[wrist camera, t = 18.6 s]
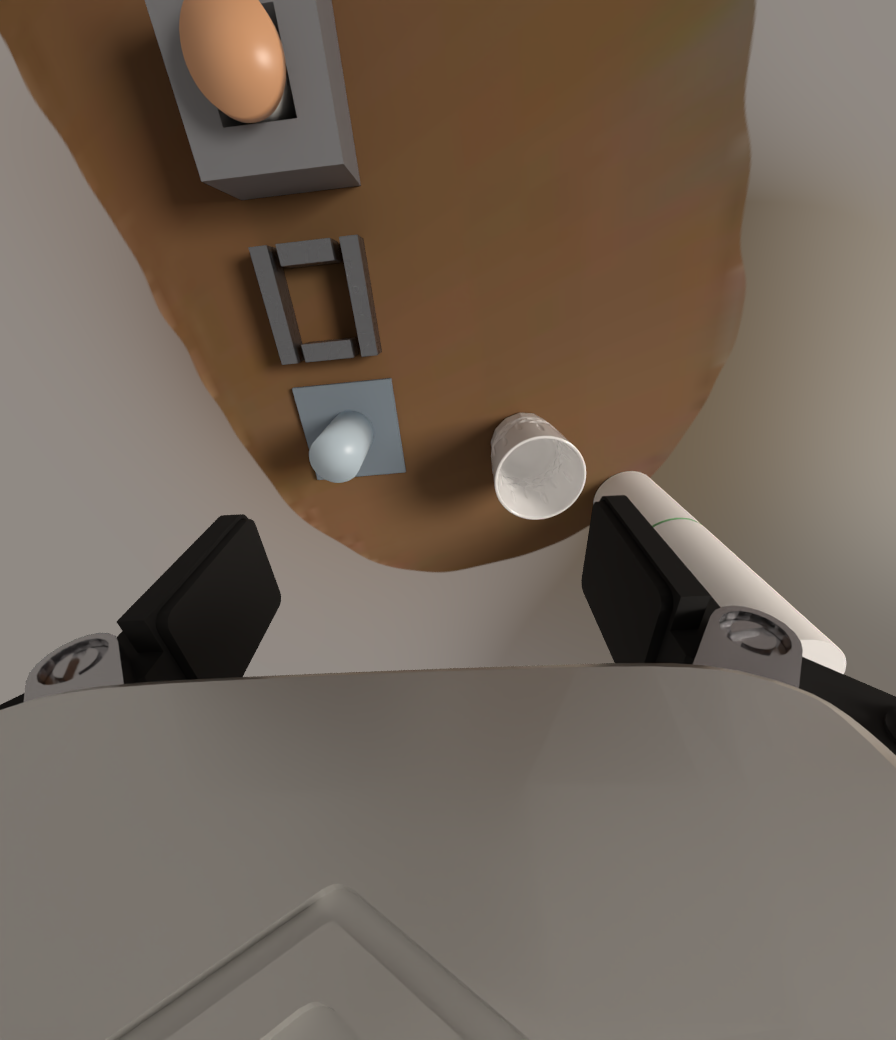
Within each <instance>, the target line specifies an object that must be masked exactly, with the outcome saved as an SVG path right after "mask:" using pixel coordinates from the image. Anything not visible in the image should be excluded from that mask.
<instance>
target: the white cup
mask: <svg viewBox="0 0 896 1040" xmlns="http://www.w3.org/2000/svg"><path fill="white" fill-rule="evenodd" d="M491 449H492V451H491V460H492V471H493V477H494V485H495V491H496V494H497V497H498V499H499V501H500V502H501V504H502V505H503V506H504V507H505V508H506V509H507V510H508V511H509V512H511V513H512V514H514V515H516V516H518V517H521V518H525V519H533V520H537V519H545V518H549V517H552V516H555V515H557V514H559V513H561V512H563V511H564V510H566V509H567V508H569V507H570V506H571V505H572V504H573V503H574V502H575V501H576V499H577V498H578V497H579V495H580V493H581V492H582V489H583V487H584V484H585V480H586V466H585V462H584V459H583V457H582V455H581V454H580V452H579V451H578V449H577V448H576V447H575V446H574V445H573V444H571V443H570V442H569V441H568V440H567V439H566V438H565V437H564V436H563V435H562V434H561V433H560V432H559V431H558V430H557V429H555V428H554V427H553V426H552V425H551V424H549V423H548V422H547V421H546V420H544V419H542V418H541V417H539V416H537V415H535V414H534V413H517V414H515V415H512V416H510V417H507V418H505V419H504V420H503V421H502V422H501V423H500V424H499V425H498V427H497V428H496V429H495V431H494V434H493V437H492V440H491Z"/></svg>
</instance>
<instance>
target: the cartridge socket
mask: <svg viewBox="0 0 896 1040" xmlns="http://www.w3.org/2000/svg"><path fill="white" fill-rule="evenodd" d="M339 239H340V245H341V250H342V255H343V260H344V266H345V271H346V276H347V282H348V287H349V292H350V297H351V303H352V308H353V313H354V319H355V324H356V329H357V335H358V340H359V345H360V350H361V356H362V357H363V356H373V355H378V354H380V353H381V352H382V350H381V343H380V337H379V331H378V325H377V319H376V313H375V307H374V301H373V295H372V289H371V283H370V277H369V270H368V264H367V258H366V252H365V246H364V240H363V238H361V237H360V236H359V235H351V236H342V237H339ZM275 245H276V248H274V247H270V246H267V245H265V246H257V247H248V248H249V251H250V255H251V258H252V262H253V265H254V269H255V272H256V276H257V279H258V283H259V286H260V290H261V293H262V297H263V300H264V304H265V307H266V311H267V314H268V318H269V321H270V325H271V328H272V332H273V335H274V339H275V342H276V346H277V349H278V353H279V356H280V360H281V363H282V365H285V364H295V363H299V362H302V361H304V360H305V362H314V361H324V360H334V359H344V358H354V357H355V356H357V355H358V354H359V351H358V346H357V341H356V337H353V338H343V339H334V340H324V341H314V342H308V343H305V344H302V341H301V337H300V333H299V329H298V325H297V321H296V317H295V313H294V309H293V305H292V301H291V297H290V294H289V290H288V286H287V282H286V278H285V274H284V270H283V267H288V268H297V267H306V266H315V265H324V264H332V263H341V257H340V252H339V247H338V242H337V241H335V240H333V239H331V238H325V239H317V240H308V241H299V242H291V243H282V244H275Z"/></svg>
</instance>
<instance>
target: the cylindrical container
mask: <svg viewBox="0 0 896 1040" xmlns="http://www.w3.org/2000/svg"><path fill="white" fill-rule="evenodd" d="M614 495H625V496H627V497H628V498H629V500H630V501H631V502H632V503H633V504H634V506H635V507H636V508H637V509H638V510H639V511H640V513H641V514H642V515H643V516H644V517H645V518H646V520H647V521H648V522H649V523H650V524H651V525H652V527H653V528H654V529H655V530H656V531H657V533H658V534H659V535H660V536H661V537H662V538H663V540H664V541H665V542H666V543H667V544H668V545H669V547H670V548H671V549H672V550H673V551H674V552H675V554H676V555H677V556H678V557H679V558H680V560H681V561H682V562H683V563H684V564H685V565H686V567H687V568H688V569H689V570H690V571H691V572H692V574H693V575H694V576H695V577H696V578H697V580H698V581H699V582H700V583H701V584H702V585H703V587H704V588H705V589H706V590H707V591H708V592H709V594H710V595H711V596H712V598H713V599H714V600H715V601H716V602H717V604H718V605H719V606H720V607H724V606H743V607H748V608H752V609H756V610H759V611H762V612H764V613H766V614H769V615H771V616H773V617H775V618H776V619H778V620H780V621H781V622H783V623H784V624H786V625H787V626H788V627H789V628H790V629H791V630H792V631H794V632H795V634H796V635H797V637H798V638H799V640H800V641H801V644H802V649H803V653H802V657H804V658H807V659H809V660H811V661H814V662H816V663H818V664H821V665H823V666H825V667H828V668H830V669H832V670H835V671H837V672H839V673H842V674H844V672H845V668H846V658H845V655H844V654H843V652H842V651H841V650H840V648H838V647H837V646H836V645H835V644H834V643H833V642H831V640H829V639H828V638H827V637H826V636H825V635H824V634H823V633H822V632H821V631H819V630H818V629H817V628H816V627H815V626H814V625H813V624H812V623H811V622H809V621H808V620H807V619H806V618H805V617H804V616H803V615H802V614H801V613H799V612H798V611H797V610H796V609H795V608H794V607H793V606H792V605H791V604H789V603H788V602H787V601H786V600H785V599H784V598H783V597H782V596H780V595H779V594H778V593H777V592H776V591H775V590H774V589H773V588H772V587H770V586H769V585H768V584H767V583H766V582H765V581H764V580H763V579H761V578H760V577H759V576H758V575H757V574H756V573H755V572H754V571H753V570H751V569H750V568H749V567H748V566H747V565H746V564H745V563H744V562H743V561H742V560H740V559H739V558H738V557H737V556H736V555H735V554H734V553H733V552H731V551H730V550H729V549H728V548H727V547H726V546H725V545H724V544H723V543H722V542H720V541H719V540H718V539H717V538H716V537H715V536H714V535H713V534H712V533H710V532H709V531H708V530H707V529H706V528H705V527H704V526H702V525H701V524H700V523H699V522H698V521H697V520H696V519H694V517H693V516H691V515H690V514H689V513H688V512H687V511H686V510H685V509H684V508H682V507H681V506H680V505H679V504H678V503H677V502H676V501H675V500H674V499H673V498H671V497H670V496H669V495H668V494H667V493H666V492H665V491H664V490H663V489H661V488H660V487H659V486H658V485H657V484H656V483H655V482H654V481H652V480H651V479H650V478H649V477H648V476H646V475H645V474H643V473H640V472H636V471H627V472H621V473H618V474H616V475H614V476H612V477H610V478H609V479H607V480H606V481H605V482H604V483H603V484H602V485H601V486H600V487H599V489H598V490H597V492H596V494H595V497H594V501H593V504H594V503H595V502H599V501H600V499H601V497H602V496H614Z"/></svg>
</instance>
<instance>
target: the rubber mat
mask: <svg viewBox="0 0 896 1040" xmlns="http://www.w3.org/2000/svg"><path fill="white" fill-rule="evenodd" d="M292 390H293V394H294V398H295V401H296V405H297V408H298V412H299V415H300V419H301V422H302V426H303V430H304V433H305V437H306V440H307V444H308V447H309V451H310V448H311V445H312V444H313V442H314V441H315V440H316V439H317V438H318V437H319V435H320V434H321V433H322V432H323V431H324V430H325V428H326V427H327V426H328V425H329V424H330V423H331V421H332V420H333V419H334V418H335V417H336V416H337V415H338V414H339V413H341V412H343V411H349V410H352V411H357V412H360V413H362V414H363V415H365V416H366V417H367V418H368V419H369V420H370V422H371V424H372V426H373V429H374V438H373V441H372V443H371V446H370V448H369V450H368V452H367V454H366V456H365V459H364V461H363V463H362V465H361V467H360V469H359V471H358V473H357V474H356V476H355V477H357V476H369V475H380V474H391V473H403V472H406V468H405V462H404V456H403V450H402V443H401V437H400V431H399V424H398V418H397V412H396V405H395V399H394V393H393V386H392V380H391V378H387V379H377V380H367V381H356V382H346V383H336V384H326V385H316V386H306V387H296V388H292ZM316 476H317V479H318V480H323V478H322V477H320V476H319V475H318V474H317V473H316Z"/></svg>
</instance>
